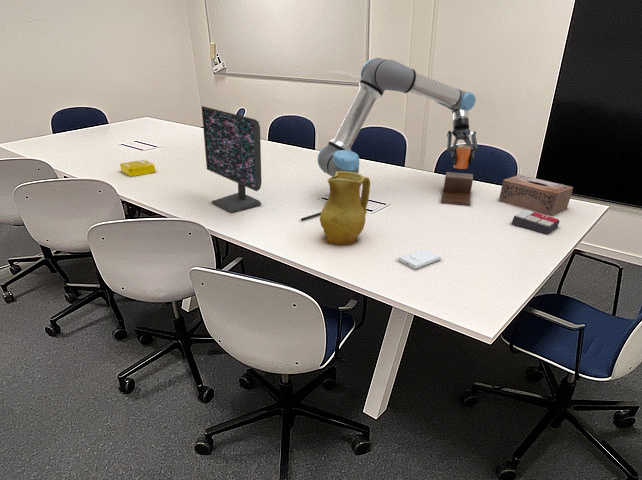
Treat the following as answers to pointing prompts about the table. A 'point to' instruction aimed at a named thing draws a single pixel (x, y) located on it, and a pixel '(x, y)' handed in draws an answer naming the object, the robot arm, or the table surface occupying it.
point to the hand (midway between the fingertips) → (463, 163)
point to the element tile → (137, 168)
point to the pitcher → (345, 208)
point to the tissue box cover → (535, 194)
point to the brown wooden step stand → (457, 188)
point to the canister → (462, 156)
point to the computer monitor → (233, 154)
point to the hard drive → (419, 258)
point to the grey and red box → (535, 221)
